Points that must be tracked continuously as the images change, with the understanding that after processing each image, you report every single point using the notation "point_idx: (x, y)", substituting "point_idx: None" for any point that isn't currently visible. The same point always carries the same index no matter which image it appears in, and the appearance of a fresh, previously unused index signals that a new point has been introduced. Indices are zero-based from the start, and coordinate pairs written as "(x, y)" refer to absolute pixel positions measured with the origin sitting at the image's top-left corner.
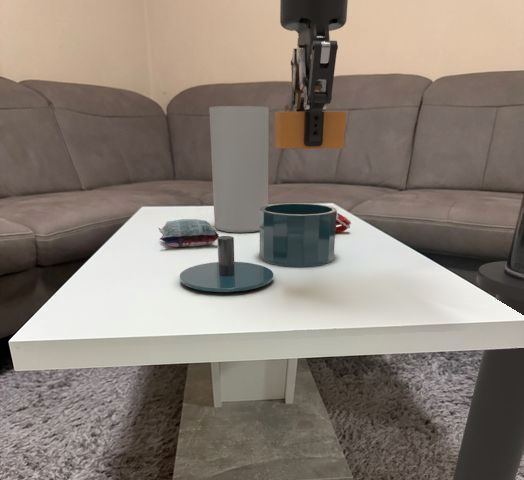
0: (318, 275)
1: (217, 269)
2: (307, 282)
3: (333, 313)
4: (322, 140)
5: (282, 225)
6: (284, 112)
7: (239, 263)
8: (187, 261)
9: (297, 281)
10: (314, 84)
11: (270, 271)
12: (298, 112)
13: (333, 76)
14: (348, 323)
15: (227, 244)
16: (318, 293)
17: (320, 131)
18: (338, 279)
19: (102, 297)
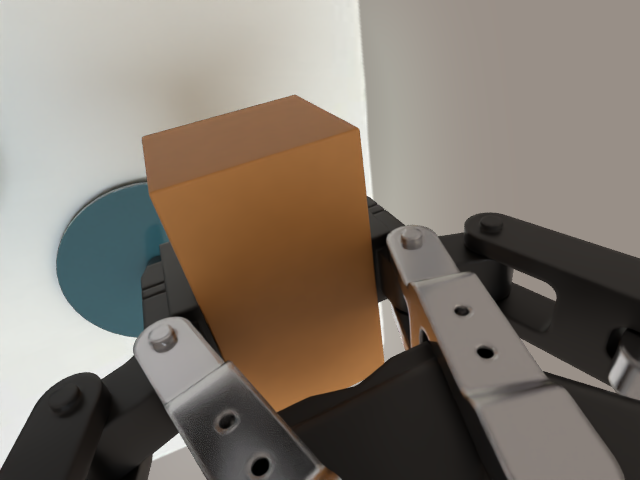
0: (50, 77)
1: (136, 291)
2: (125, 104)
3: (304, 51)
4: None
5: None
6: (382, 357)
7: (72, 269)
8: (40, 372)
9: (123, 128)
10: (552, 302)
11: (118, 194)
12: (377, 320)
13: (607, 248)
14: (344, 27)
15: None
16: (200, 78)
17: (378, 205)
18: (71, 21)
19: None
